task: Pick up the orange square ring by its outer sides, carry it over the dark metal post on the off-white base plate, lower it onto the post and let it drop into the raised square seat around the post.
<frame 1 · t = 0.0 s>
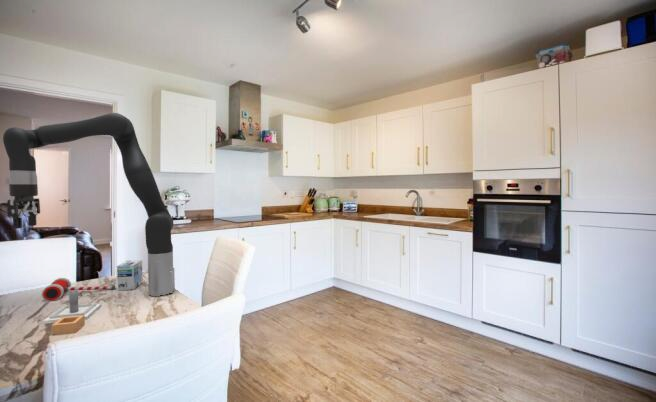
hand: (25, 226, 116), 29 cm above the table, tool pointing down, fingers open, 8 cm apart
post base: (74, 314, 109), on the table
ring: (68, 329, 97), on the table
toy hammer: (75, 295, 130), on the table
light bulb box: (130, 287, 139), on the table
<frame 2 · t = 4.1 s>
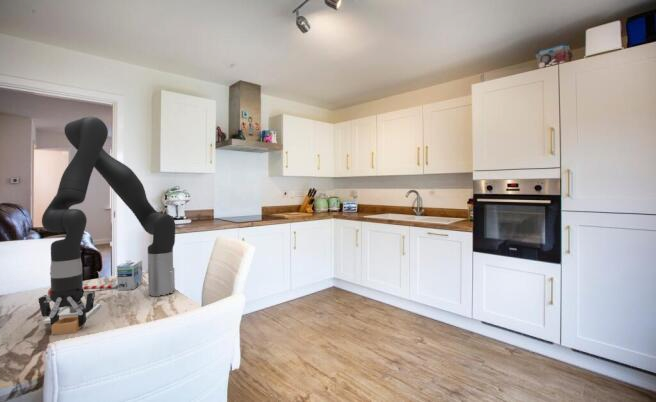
hand: (68, 326, 97), 1 cm above the table, tool pointing down, fingers closed on ring, 6 cm apart
ring: (68, 329, 97), on the table, touching gripper
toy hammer: (80, 294, 131), on the table
everything else where it was.
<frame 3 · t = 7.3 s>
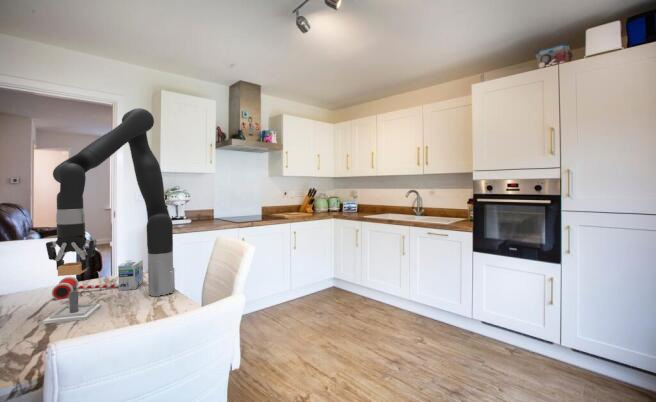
hand: (72, 270, 108), 15 cm above the table, tool pointing down, fingers closed on ring, 6 cm apart
ring: (73, 272, 108), point 15 cm above the table, touching gripper
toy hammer: (84, 293, 132), on the table
when the fingers open (4 cm above the table, at t = 10.5 s): ring drops 2 cm, resting on post base.
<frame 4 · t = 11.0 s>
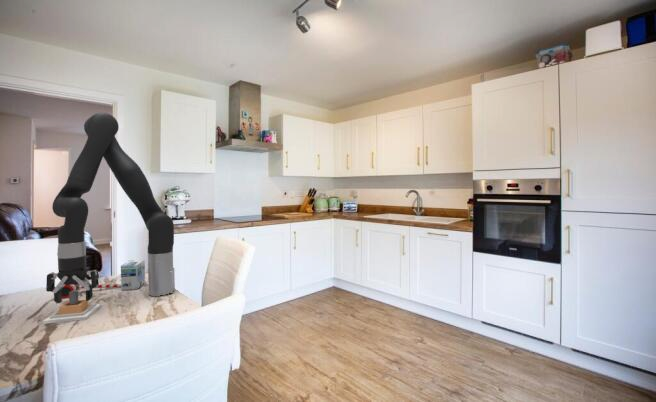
hand: (73, 301, 108), 5 cm above the table, tool pointing down, fingers open, 8 cm apart
ring: (74, 311, 109), point 1 cm above the table, touching post base
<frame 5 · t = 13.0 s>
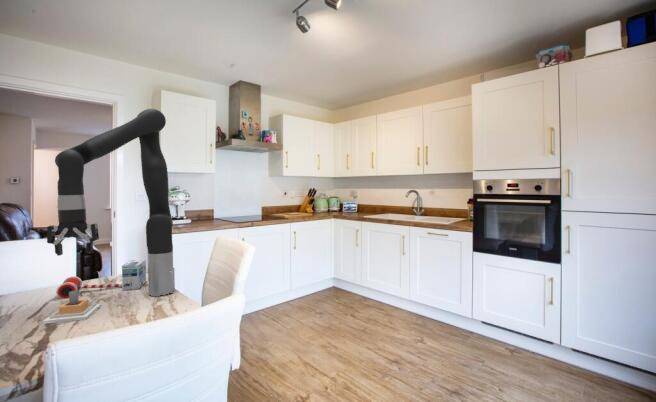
hand: (74, 254, 110), 21 cm above the table, tool pointing down, fingers open, 8 cm apart
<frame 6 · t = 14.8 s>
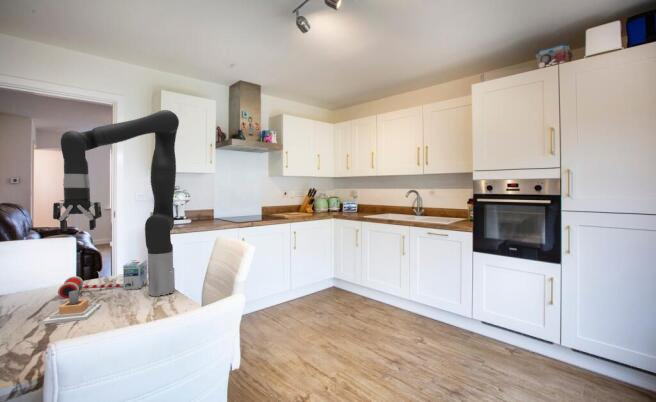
hand: (78, 230, 116), 28 cm above the table, tool pointing down, fingers open, 8 cm apart
at the end: ring 0.1 cm from the post base (horizontally); ring point 1.0 cm above the table; the gripper is holding nothing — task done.
